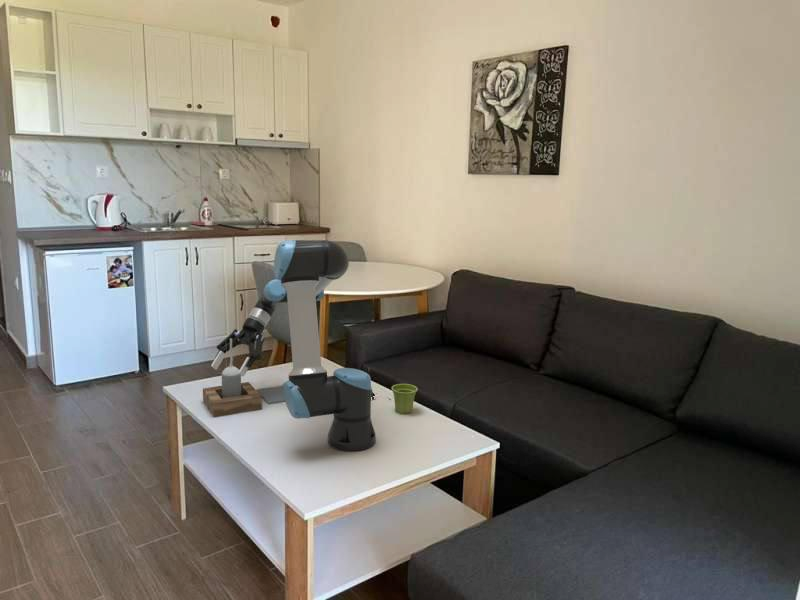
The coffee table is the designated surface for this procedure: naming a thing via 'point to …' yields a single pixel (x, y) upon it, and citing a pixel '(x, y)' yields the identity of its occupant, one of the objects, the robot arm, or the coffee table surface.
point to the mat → (272, 394)
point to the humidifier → (231, 379)
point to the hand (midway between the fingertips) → (227, 371)
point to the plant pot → (404, 397)
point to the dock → (232, 400)
